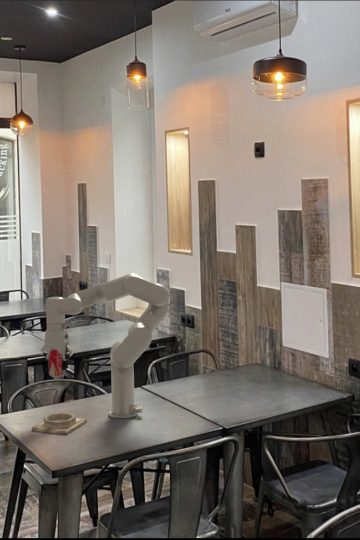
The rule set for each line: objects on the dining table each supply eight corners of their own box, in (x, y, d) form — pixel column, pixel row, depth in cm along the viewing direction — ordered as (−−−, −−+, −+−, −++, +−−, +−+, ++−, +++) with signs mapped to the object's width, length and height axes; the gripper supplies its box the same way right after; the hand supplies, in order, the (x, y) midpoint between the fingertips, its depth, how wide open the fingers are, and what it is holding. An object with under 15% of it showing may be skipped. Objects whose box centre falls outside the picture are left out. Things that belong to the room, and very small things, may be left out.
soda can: (50, 373, 278) (49, 345, 277) (66, 373, 279) (66, 345, 277) (47, 378, 271) (47, 349, 270) (64, 378, 272) (64, 349, 270)
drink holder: (86, 422, 271) (86, 413, 271) (67, 434, 256) (66, 425, 256) (53, 418, 277) (53, 409, 276) (32, 430, 262) (31, 421, 261)
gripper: (78, 326, 273) (80, 368, 275) (43, 324, 280) (45, 365, 281) (68, 329, 266) (70, 372, 268) (33, 327, 273) (35, 369, 275)
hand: (57, 368), depth 275 cm, fingers closed on soda can, 6 cm apart
